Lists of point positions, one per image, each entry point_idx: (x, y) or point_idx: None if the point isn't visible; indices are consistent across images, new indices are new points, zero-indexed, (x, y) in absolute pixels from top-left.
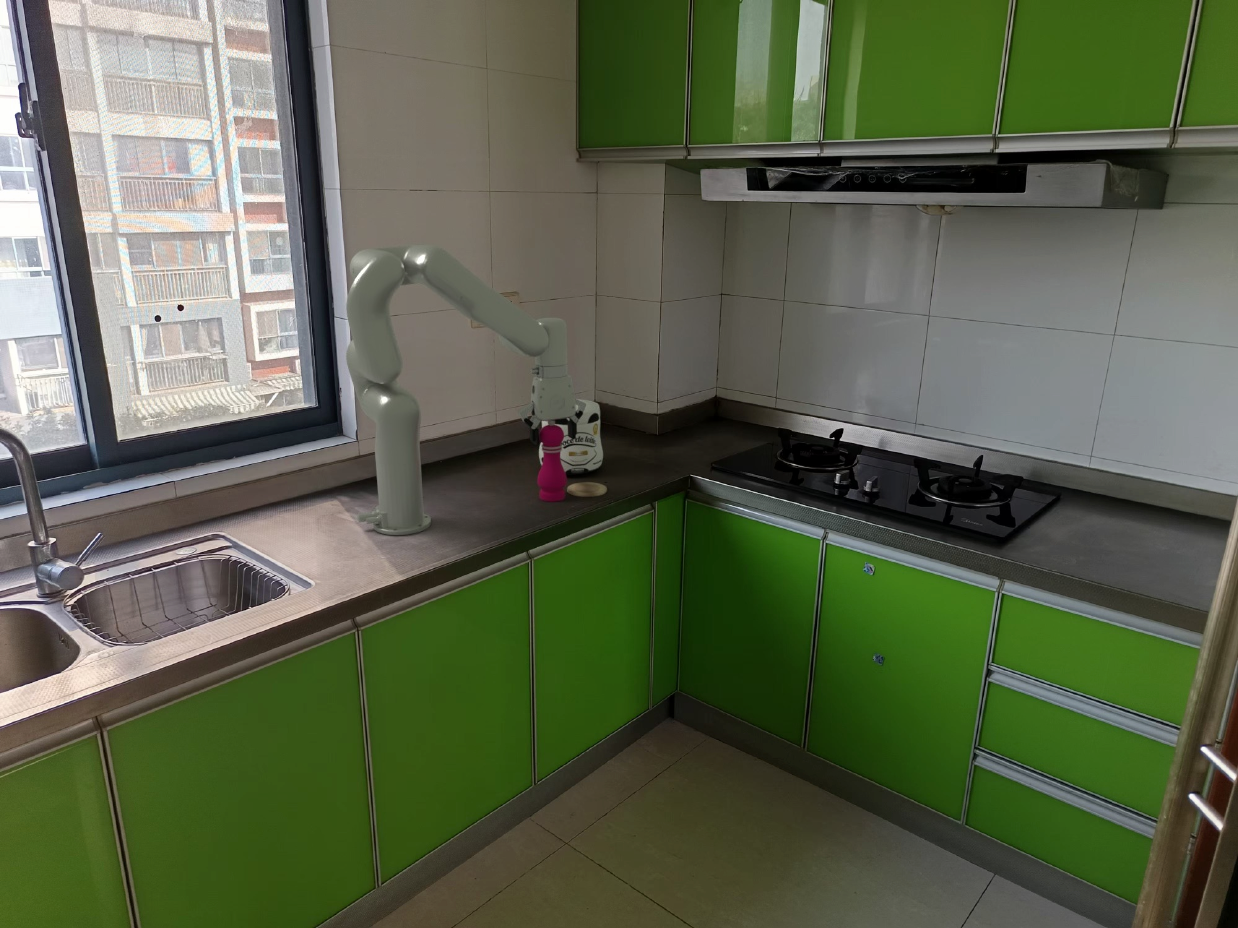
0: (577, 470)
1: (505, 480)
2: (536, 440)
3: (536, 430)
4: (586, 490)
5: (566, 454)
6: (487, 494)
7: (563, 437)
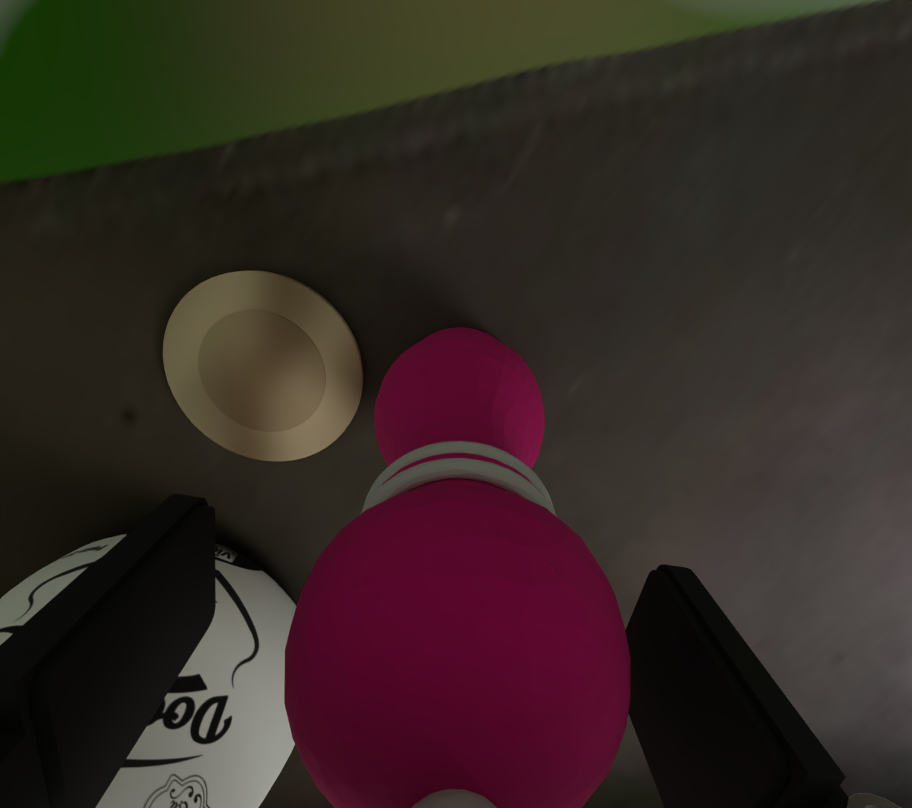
0: None
1: None
2: (717, 605)
3: (817, 748)
4: (282, 345)
5: (212, 637)
6: (647, 565)
7: (350, 528)
